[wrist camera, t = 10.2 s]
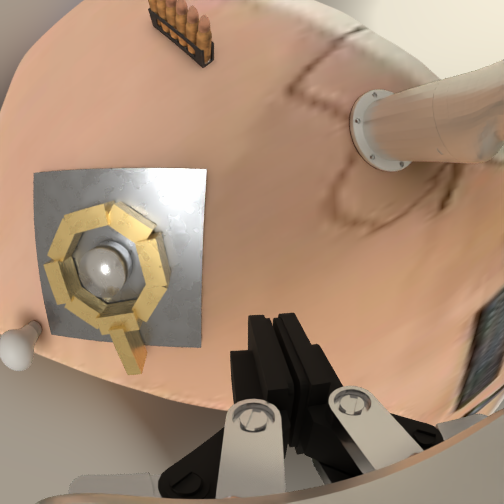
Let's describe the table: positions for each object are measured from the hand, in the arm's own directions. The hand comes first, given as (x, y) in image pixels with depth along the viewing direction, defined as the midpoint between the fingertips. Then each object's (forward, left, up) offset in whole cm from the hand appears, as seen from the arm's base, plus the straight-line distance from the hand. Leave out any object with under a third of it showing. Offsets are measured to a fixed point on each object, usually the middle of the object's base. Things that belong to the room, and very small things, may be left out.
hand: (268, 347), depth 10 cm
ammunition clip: (+7, -25, -28) cm, 38 cm away
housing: (+14, +5, -28) cm, 32 cm away
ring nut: (+14, +8, -25) cm, 30 cm away
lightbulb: (+30, +17, -28) cm, 45 cm away
